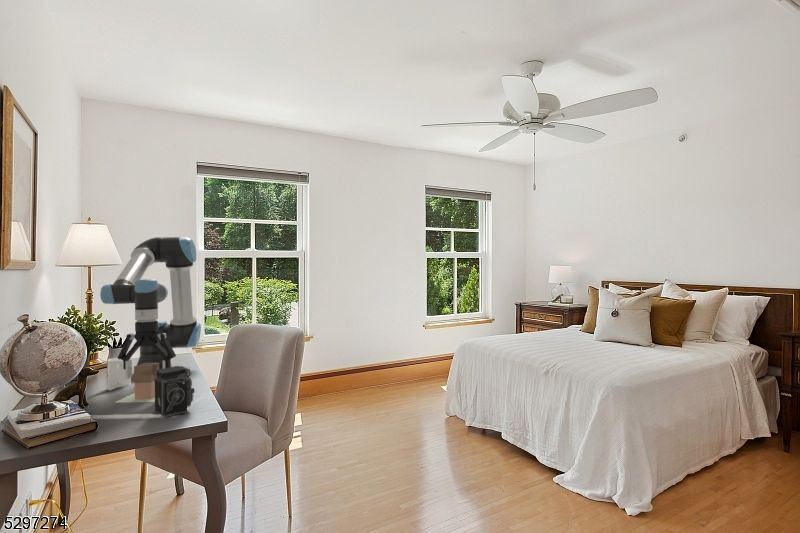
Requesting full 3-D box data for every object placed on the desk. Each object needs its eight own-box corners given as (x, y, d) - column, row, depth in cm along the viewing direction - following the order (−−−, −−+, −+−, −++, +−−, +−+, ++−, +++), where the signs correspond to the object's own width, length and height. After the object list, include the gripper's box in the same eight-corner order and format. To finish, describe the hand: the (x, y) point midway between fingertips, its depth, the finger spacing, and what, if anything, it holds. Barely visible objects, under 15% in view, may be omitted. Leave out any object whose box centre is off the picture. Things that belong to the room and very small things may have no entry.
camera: (197, 412, 154) (196, 368, 154) (163, 420, 146) (162, 373, 146) (185, 406, 161) (185, 363, 161) (153, 413, 154) (152, 368, 154)
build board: (136, 395, 176) (136, 391, 176) (178, 394, 177) (177, 391, 177) (114, 405, 162) (114, 402, 162) (159, 405, 163) (159, 401, 163)
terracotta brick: (143, 394, 172) (143, 378, 172) (159, 394, 172) (159, 378, 173) (134, 399, 166) (134, 382, 166) (151, 398, 166) (151, 382, 167)
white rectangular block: (127, 391, 182) (127, 361, 182) (102, 393, 179) (102, 363, 179) (133, 384, 193) (133, 356, 193) (110, 386, 190) (109, 357, 190)
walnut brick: (143, 378, 172) (143, 362, 172) (159, 378, 172) (159, 362, 172) (134, 382, 166) (134, 366, 166) (150, 382, 166) (150, 366, 166)
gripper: (106, 322, 166) (107, 380, 166) (175, 321, 166) (176, 379, 166) (119, 320, 173) (119, 375, 173) (184, 319, 173) (185, 374, 173)
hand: (147, 377), depth 169 cm, fingers open, 13 cm apart
